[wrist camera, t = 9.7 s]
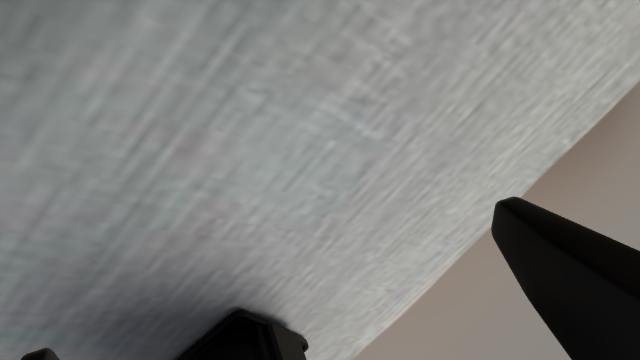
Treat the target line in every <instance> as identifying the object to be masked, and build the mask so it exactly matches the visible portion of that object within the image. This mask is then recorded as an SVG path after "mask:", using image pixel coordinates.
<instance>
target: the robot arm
mask: <svg viewBox="0 0 640 360" xmlns="http://www.w3.org/2000/svg"><path fill="white" fill-rule="evenodd" d="M491 230H492V236H493V238H494V240H495V242H496V244H497V246H498V247H499V249H500V251H501V253H502V254H503V256H504V258H505V260H506V261H507V263H508V265H509V267H510V268H511V270H512V272H513V274H514V275H515V277H516V279H517V281H518V282H519V284H520V286H521V288H522V290H523V291H524V293H525V294H526V296H527V298H528V299H529V301H530V302H531V304H532V305H533V307H534V308H535V309H536V311H537V312H538V313H539V315H540V316H541V318H542V319H543V321H544V322H545V323H546V325H547V326H548V328H549V329H550V330H551V332H552V333H553V334H554V336H555V337H556V338H557V340H558V341H559V343H560V344H561V345H562V347H563V348H564V350H565V351H566V352H567V354H568V355H569V357H570V358H571V359H572V360H640V251H638V250H636V249H634V248H631V247H629V246H627V245H624V244H622V243H620V242H618V241H616V240H613V239H611V238H609V237H607V236H604V235H602V234H600V233H598V232H595V231H593V230H591V229H589V228H586V227H584V226H582V225H580V224H577V223H575V222H573V221H570V220H568V219H566V218H564V217H561V216H559V215H557V214H555V213H553V212H550V211H548V210H546V209H544V208H541V207H539V206H537V205H535V204H532V203H530V202H528V201H525V200H523V199H521V198H518V197H510V198H507V199H504V200H501V201H498V202H497V203H496V205H495V209H494V215H493V221H492V227H491ZM308 347H309V346H308V343H307V340H306V339H304V338H302V337H300V336H298V335H297V334H295V333H292V332H290V331H288V330H286V329H284V328H282V327H280V326H278V325H275V324H273V323H270V322H268V321H266V320H264V319H261V318H259V317H257V316H255V315H253V314H251V313H249V312H246V311H244V310H237V311H234V312H233V313H231V314H230V315H229V316H228V317H226V318H225V319H224V320H223V321H222V322H221V323H219V324H218V325H217V326H216V327H215V328H213V329H212V330H211V331H210V332H209V333H207V334H206V335H205V336H204V337H203V338H202V339H200V340H199V341H198V342H197V343H196V344H194V345H193V346H192V347H191V348H190V349H189V350H187V351H186V352H185V353H184V354H183V355H181V356H180V357H179V358H178V359H177V360H306V357H305V354H304V352H305V351H306V350H307V349H308ZM21 360H60V359H59V358H58V357H57V356H56V354H55V353H54V352H53V351H52V350H51V349H49V348H43V349H40V350H37V351H34V352H31V353H28V354H26V355H25V356H23V357H22V358H21Z"/></svg>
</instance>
